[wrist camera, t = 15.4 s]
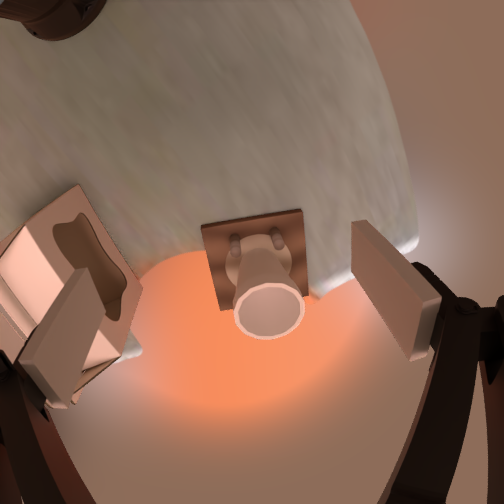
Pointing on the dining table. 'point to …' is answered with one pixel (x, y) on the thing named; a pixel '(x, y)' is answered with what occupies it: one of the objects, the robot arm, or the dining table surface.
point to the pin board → (250, 237)
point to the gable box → (65, 278)
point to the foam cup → (266, 297)
